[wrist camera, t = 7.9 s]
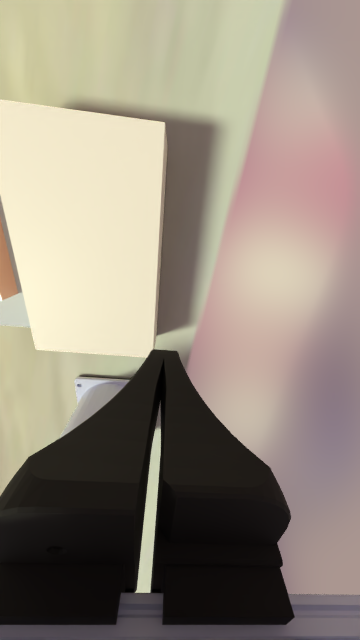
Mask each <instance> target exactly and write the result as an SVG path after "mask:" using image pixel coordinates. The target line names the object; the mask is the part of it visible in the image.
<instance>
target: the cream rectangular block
mask: <svg viewBox="0 0 360 640" xmlns="http://www.w3.org/2000/svg"><path fill="white" fill-rule="evenodd" d="M167 149H168V146H167V136H166V127H165V122H159V121H152V120H144V119H137V118H130V117H123V116H116V115H108V114H101V113H94V112H87V111H80V110H72V109H65V108H58V107H51V106H44V105H37V104H29V103H22V102H15V101H8V100H1V99H0V196H1V200H2V205H3V209H4V213H5V218H6V222H7V226H8V231H9V235H10V240H11V244H12V248H13V253H14V257H15V261H16V266H17V270H18V274H19V279H20V283H21V288H22V292H23V296H24V301H25V305H26V309H27V314H28V318H29V322H30V327H31V331H32V336H33V340H34V344H35V349H36V350H48V351H62V352H76V353H90V354H104V355H118V356H132V357H146V358H147V357H148V355H149V353H150V351H151V350H153V349H154V347H155V341H156V335H157V318H158V301H159V284H160V268H161V251H162V234H163V217H164V200H165V183H166V166H167Z"/></svg>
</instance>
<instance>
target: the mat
mask: <svg viewBox="0 0 360 640" xmlns="http://www.w3.org/2000/svg"><path fill="white" fill-rule="evenodd" d="M0 219H1V223H2V227H3V232H4V236H5V240H6V244H7V248H8V253H9V257H10V261H11V265H12V269H13V273H14V278H15V282H16V286H17V290H18V294H16V295H14V296H11V297H9V298H7V299H4V300H2V301H1V300H0V325H4V326H17V327H30V322H29V318H28V314H27V309H26V305H25V301H24V296H23V292H22V288H21V283H20V279H19V274H18V270H17V266H16V261H15V257H14V253H13V248H12V244H11V240H10V235H9V231H8V226H7V222H6V218H5V213H4V209H3V205H2V200H1V196H0ZM30 328H31V327H30Z"/></svg>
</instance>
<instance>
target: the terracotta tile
mask: <svg viewBox="0 0 360 640" xmlns="http://www.w3.org/2000/svg"><path fill="white" fill-rule="evenodd" d="M16 294H18V290H17V286H16V282H15V278H14V273H13V269H12V265H11V261H10V257H9V253H8V248H7V244H6V240H5V236H4V232H3V227H2V223H1V219H0V300H1V301H2V300H4V299H7V298H9V297H11V296H14V295H16Z"/></svg>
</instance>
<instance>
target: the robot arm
mask: <svg viewBox="0 0 360 640" xmlns="http://www.w3.org/2000/svg"><path fill="white" fill-rule="evenodd" d="M74 382H75V389H76V395H77V402H78V404H77V406H76V408H75V410H74V412H73V414H72V415H71V417H70V419H69V421H68V423H67V424H66V426H65V428H64V430H63V432H62V434H61V435H60V437H59V439H58V440H56V441H55V442H53V443H51V444H50V445H48V446H47V447H45V448H43V449H42V450H40V451H38V452H37V453H35V454H33V455H32V456H30V457H28V459H27V460H26V461H25V463H24V464H23V465H22V467H21V468H20V469H19V470H18V472H17V473H16V474H15V475H14V477H13V478H12V480H11V481H10V482H9V484H8V485H7V487H6V488H5V490H4V491H3V493H2V495H1V496H0V640H360V595H319V594H318V595H317V594H314V595H312V594H288V593H287V589H286V586H285V583H284V579H283V576H282V573H281V570H280V567H281V566H282V565H283V562H282V557H281V554H280V551H279V548H278V545H277V542H278V541H279V539H280V538H281V536H282V535H283V533H284V532H285V530H286V529H287V527H288V524H289V522H290V519H291V515H290V510H289V508H288V505H287V502H286V500H285V497H284V495H283V493H282V491H281V489H280V486H279V484H278V483H277V480H276V478H275V476H274V475H273V473H272V471H271V469H270V467H269V466H268V465H266V464H265V463H264V462H263V461H262V460H260V459H259V458H258V457H257V456H256V455H255V454H253V453H252V452H251V451H250V450H249V449H247V448H246V447H245V446H244V445H243V444H242V443H241V442H240V441H238V439H237V438H236V437H234V436H233V435H232V434H231V433H230V431H229V430H228V429H227V428H226V427H225V426H224V425H223V424H222V423H221V422H220V421H219V420H218V419H217V418H216V416H215V415H214V414H213V413H212V411H211V410H210V409H209V408H208V406H207V405H206V404H205V402H204V401H203V400H202V398H201V397H200V395H199V394H198V392H197V391H196V389H195V388H194V386H193V384H192V383H191V381H190V379H189V377H188V375H187V373H186V371H185V369H184V367H183V365H182V363H181V360H180V357H179V354H178V352H177V351H168V350H155V349H153V350H151V351H150V353H149V355H148V357H147V358H146V360H145V361H144V363H143V364H142V366H141V367H140V368H139V370H138V371H137V372H136V374H135V375H134V376H133V377H132V378H131V379H130V380H124V379H108V378H93V377H77V378H76V379H75V381H74ZM80 384H81V385H80ZM160 400H161V457H160V471H159V484H158V498H157V512H156V525H155V539H154V552H153V566H152V579H151V592H150V593H135V591H136V590H137V581H138V571H139V561H140V551H141V541H142V532H143V522H144V512H145V503H146V493H147V484H148V474H149V465H150V456H151V448H152V442H153V436H154V431H155V426H156V421H157V416H158V410H159V405H160Z"/></svg>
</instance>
